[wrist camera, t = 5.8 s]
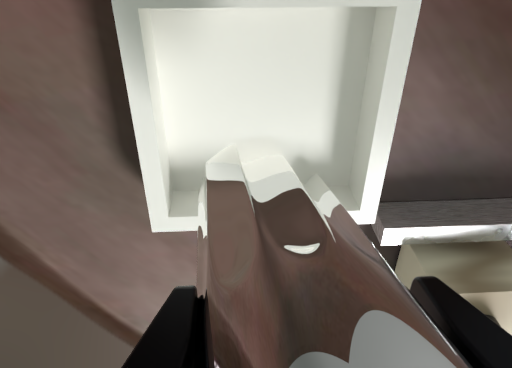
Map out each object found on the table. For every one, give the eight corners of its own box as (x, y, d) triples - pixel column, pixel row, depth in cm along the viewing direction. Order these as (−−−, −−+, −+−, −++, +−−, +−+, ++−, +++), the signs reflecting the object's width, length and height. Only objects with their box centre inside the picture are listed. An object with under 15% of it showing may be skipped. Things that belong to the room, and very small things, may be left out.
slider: (497, 231, 21) (571, 317, 17) (469, 296, 24) (526, 385, 20) (404, 235, 21) (453, 323, 17) (387, 300, 24) (425, 391, 19)
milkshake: (131, 124, 10) (-19, 915, 2) (333, 102, 11) (828, 629, 3) (160, 257, 13) (144, 867, 4) (324, 233, 14) (573, 722, 5)
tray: (397, -30, 14) (426, -21, 12) (358, 191, 20) (374, 223, 18) (125, -29, 14) (107, -19, 12) (160, 197, 19) (152, 232, 17)
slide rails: (564, 196, 21) (594, 221, 19) (504, 313, 26) (524, 340, 24) (198, 209, 20) (196, 236, 18) (209, 328, 25) (208, 358, 23)
